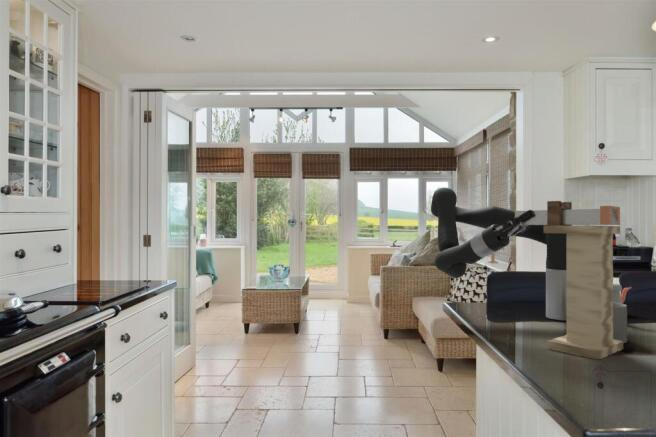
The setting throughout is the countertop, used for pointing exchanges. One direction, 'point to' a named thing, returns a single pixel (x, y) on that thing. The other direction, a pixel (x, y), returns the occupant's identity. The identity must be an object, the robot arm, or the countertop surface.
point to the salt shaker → (617, 293)
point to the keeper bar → (578, 216)
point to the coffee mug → (620, 322)
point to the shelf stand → (586, 286)
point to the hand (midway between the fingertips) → (536, 212)
